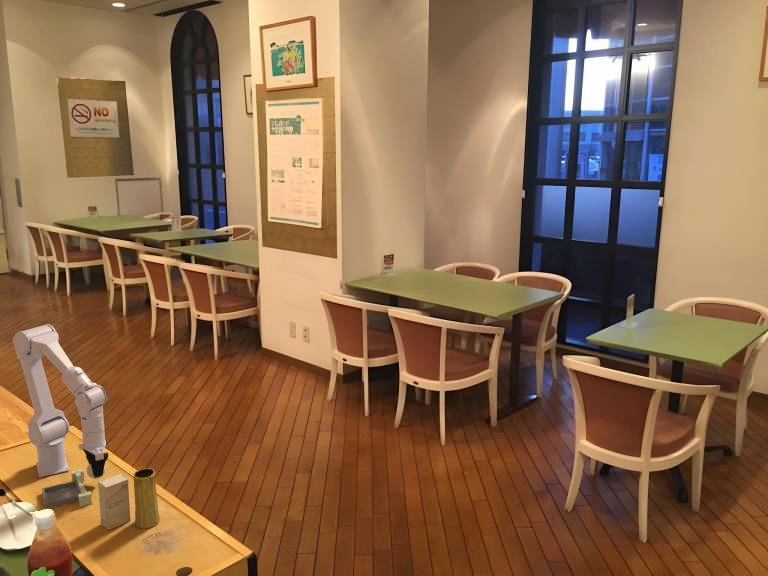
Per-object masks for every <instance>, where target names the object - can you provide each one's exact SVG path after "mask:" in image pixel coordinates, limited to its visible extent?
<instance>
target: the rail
mask: <svg viewBox="0 0 768 576" xmlns="http://www.w3.org/2000/svg"><path fill="white" fill-rule="evenodd" d="M70 474H71V481H75V480H77V483H78V486H79V489H80V492H81V494H78V497H79V501H78V506H79V507H80V508H81V507H84V506H89V505H92V504H93V502H92V493H91V490H90V491H87V489H86V486H85V483H84V481H85V475H84V469H83V468H81V469H76V470H72V471H71V473H70Z"/></svg>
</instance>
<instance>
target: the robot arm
mask: <svg viewBox="0 0 768 576" xmlns="http://www.w3.org/2000/svg"><path fill="white" fill-rule="evenodd" d="M59 337H60V336H59V333H58V332H57V331H56V329H55V328H54V326H53V325H51V324H50V323H46V324H43V325H40V326H37V327H33V328H29V329H26V330H19V331H18V332H16V333H15V334H14V337H13V338H12V343H13V347H14V351H15V354H16V358H17V360H19V361H20V365H21V367H22V371H23V372H22V373H23V374H24V375H23V376H24V379H25V382H26V386H27V391H28V394H29V397H30V401H31V405H32V408H33V412H34V413H33V415H32V416H31V418H30V419H29V420H28V422H27V427H28V432H27V434H28V439H29V441H30V442H31V444H32V445H33V446H36V450H37V451H36V452H37V462H36V470H37V473H38V477H39V478H42V477H47V476H52V475H57V474H61V473H64V472H69V471H70V467H69V465H68V461H67V458H66V450H65V439H67V436H66V435H68V434H69V432H70V423H69V420H68V419H67V418H66V416H65V413H64V411H63V410H60V409H58V408H55V405H54V402H53V398H52V394H51V391H50V387H49V384H48V379H47V376H46V373H45V372H46V371H45V369H44V365H43V361H42V357H43V356H45V357H46V358H47V360H49V362H51V363H52V365H53V366H55V368H56V370H58V371H59V372H60V373H61V381H62V383H63V384H64V385H65V387H66V388H67V389H68V390H69V391H70V392H71V394H72V395H73V396H74V397H75V399H74V405H75V406H76V408H77V412H78V415H79V417H80V422H81V433H82V443H81V444H78V449H79V450H82V451H83V452H84V454H85V458H86V460H87V461H88V462H87V463H88V465H89V464H90V465H91V468H92V472H93V475H94V477H95V478H97V477H100V478H102V477H103V476H104V475H103V471H104V466H105V467H106V463H107V460H108V459H109V453H108V452H106V451H105V448H106V445H107V440H106V436H105V434H106V433H105V422H104V421H105V420H104V406H103V405H104V404H106V402H107V399H108V396H107V393H106V391H105V389H104V387H103V386H101V385H100V384H97V383H96V382H92V380H91V379H90V378H89V377H88V375H87V374H86V372H85V371H84V370H83V369H82V368H81V367H79V366H74V365H73V363H72V361H71V360H70V359H69V357H68V355H67V354H66V352H65V351H64V350H63V347H62V346H61V345H60V343H59V339H60V338H59ZM104 451H105V452H104ZM101 476H102V477H101ZM97 479H98V478H97Z"/></svg>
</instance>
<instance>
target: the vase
mask: <svg viewBox="0 0 768 576" xmlns="http://www.w3.org/2000/svg"><path fill="white" fill-rule="evenodd" d="M133 490H134V512H135V513H134V516H135V517H134V518H135V520H134V525H135V526H136V527H137V528H138V529H142V530H143V529H145V530H146V529H151V528H153V527H155V526H157V525H158V524H159V522H160V514H159V504H158V493H157V481H156V471H155V470H154V469H153V468H150V467H145V468H140V469H137V470H136V471H134V473H133Z"/></svg>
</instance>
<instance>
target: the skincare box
mask: <svg viewBox="0 0 768 576" xmlns="http://www.w3.org/2000/svg"><path fill="white" fill-rule="evenodd" d="M97 485H98V486H97V488H98V499H99V513H100V516H99V517H100V525H102V526H103V527H104V528H105V529H106V530H108V531H109V530H112V529H114V528H117V527H119V526H122V525H124V524H127V523H129V522H131V510H130V493H129V479H128V478H127V477H126V476H125V475H123V474H122V473H119V474H115V475H112V476H110V477H107V478H105V479H101V480H99V481H97Z"/></svg>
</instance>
